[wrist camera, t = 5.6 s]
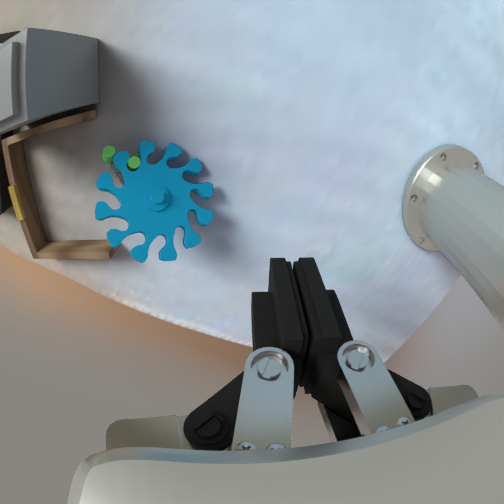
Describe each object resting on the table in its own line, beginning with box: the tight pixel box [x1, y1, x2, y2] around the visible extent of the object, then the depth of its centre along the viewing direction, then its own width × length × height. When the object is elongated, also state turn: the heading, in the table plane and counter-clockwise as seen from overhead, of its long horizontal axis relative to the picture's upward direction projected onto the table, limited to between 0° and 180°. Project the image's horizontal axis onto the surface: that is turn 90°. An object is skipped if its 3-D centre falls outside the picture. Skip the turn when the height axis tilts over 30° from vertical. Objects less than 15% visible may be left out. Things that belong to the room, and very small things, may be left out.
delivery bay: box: [1, 110, 119, 259], centre depth 22 cm, size 12×14×3 cm
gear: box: [95, 141, 214, 263], centre depth 22 cm, size 11×6×10 cm
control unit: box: [0, 28, 100, 135], centre depth 13 cm, size 10×7×11 cm
